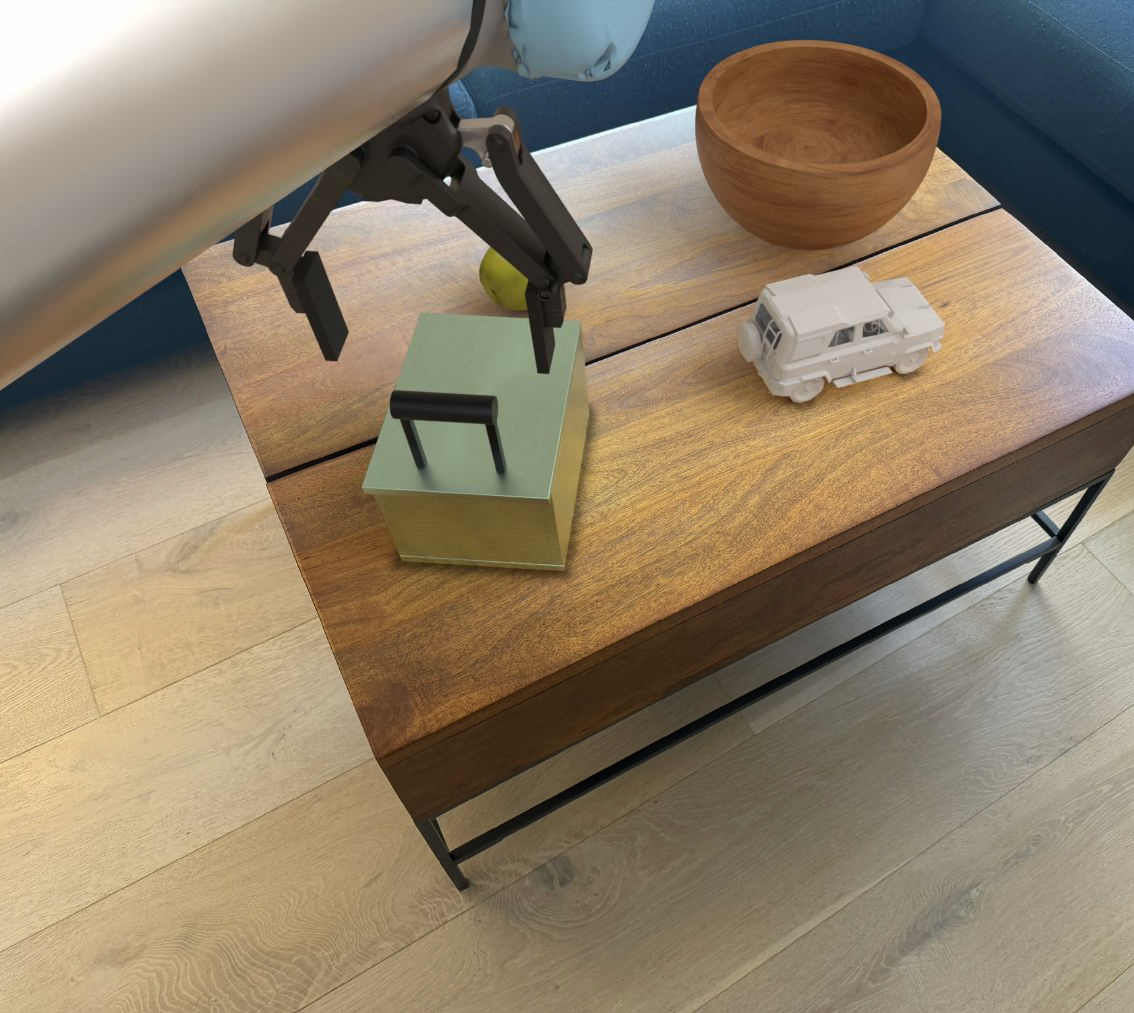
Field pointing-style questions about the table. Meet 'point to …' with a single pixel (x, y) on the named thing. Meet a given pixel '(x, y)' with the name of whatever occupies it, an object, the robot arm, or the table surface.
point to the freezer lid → (475, 412)
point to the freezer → (498, 511)
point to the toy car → (837, 331)
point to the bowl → (814, 140)
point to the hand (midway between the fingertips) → (441, 352)
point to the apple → (502, 281)
